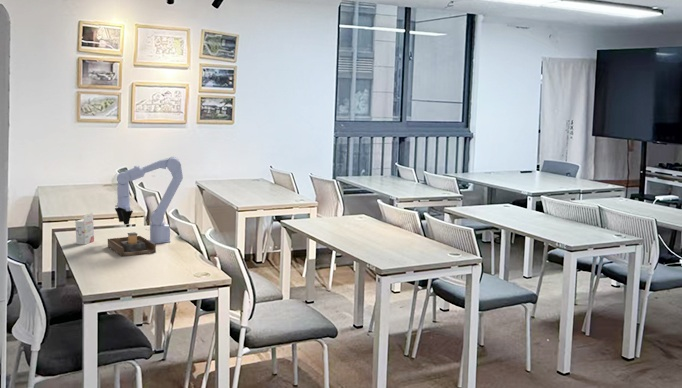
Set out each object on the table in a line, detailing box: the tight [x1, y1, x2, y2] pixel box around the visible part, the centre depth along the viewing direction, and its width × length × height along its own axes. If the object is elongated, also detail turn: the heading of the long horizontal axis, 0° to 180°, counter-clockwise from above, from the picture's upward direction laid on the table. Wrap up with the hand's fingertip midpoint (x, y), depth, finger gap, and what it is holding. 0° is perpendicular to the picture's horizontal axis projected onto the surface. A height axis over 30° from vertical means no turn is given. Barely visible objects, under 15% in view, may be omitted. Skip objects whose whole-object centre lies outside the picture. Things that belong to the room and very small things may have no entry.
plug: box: [127, 232, 139, 244], centre depth 328 cm, size 4×4×8 cm
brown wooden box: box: [107, 235, 157, 257], centre depth 330 cm, size 16×22×4 cm
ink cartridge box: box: [75, 212, 95, 246], centre depth 341 cm, size 9×5×15 cm, turn 168°
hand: (123, 223), depth 344 cm, fingers open, 7 cm apart
